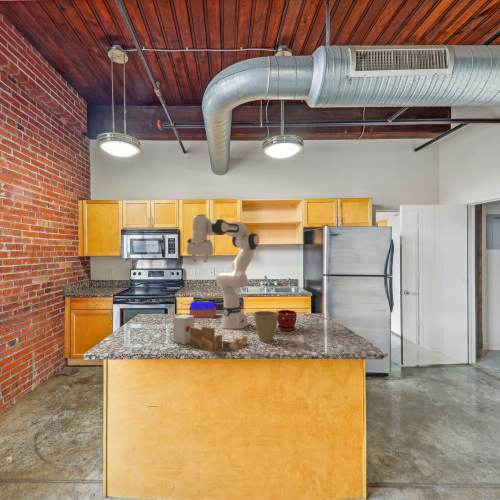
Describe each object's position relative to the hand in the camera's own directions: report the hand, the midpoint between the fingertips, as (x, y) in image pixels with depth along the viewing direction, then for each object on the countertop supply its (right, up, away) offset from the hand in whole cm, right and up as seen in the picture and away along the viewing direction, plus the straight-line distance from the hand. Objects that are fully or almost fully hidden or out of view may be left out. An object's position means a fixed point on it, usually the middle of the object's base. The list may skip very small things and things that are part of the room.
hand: (199, 262), depth 183 cm
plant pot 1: (+41, -47, -8) cm, 63 cm away
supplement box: (-8, -47, -9) cm, 48 cm away
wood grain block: (+6, -46, -19) cm, 50 cm away
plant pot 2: (+56, -47, +16) cm, 75 cm away
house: (-7, -47, +59) cm, 76 cm away
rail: (+23, -46, -19) cm, 55 cm away
